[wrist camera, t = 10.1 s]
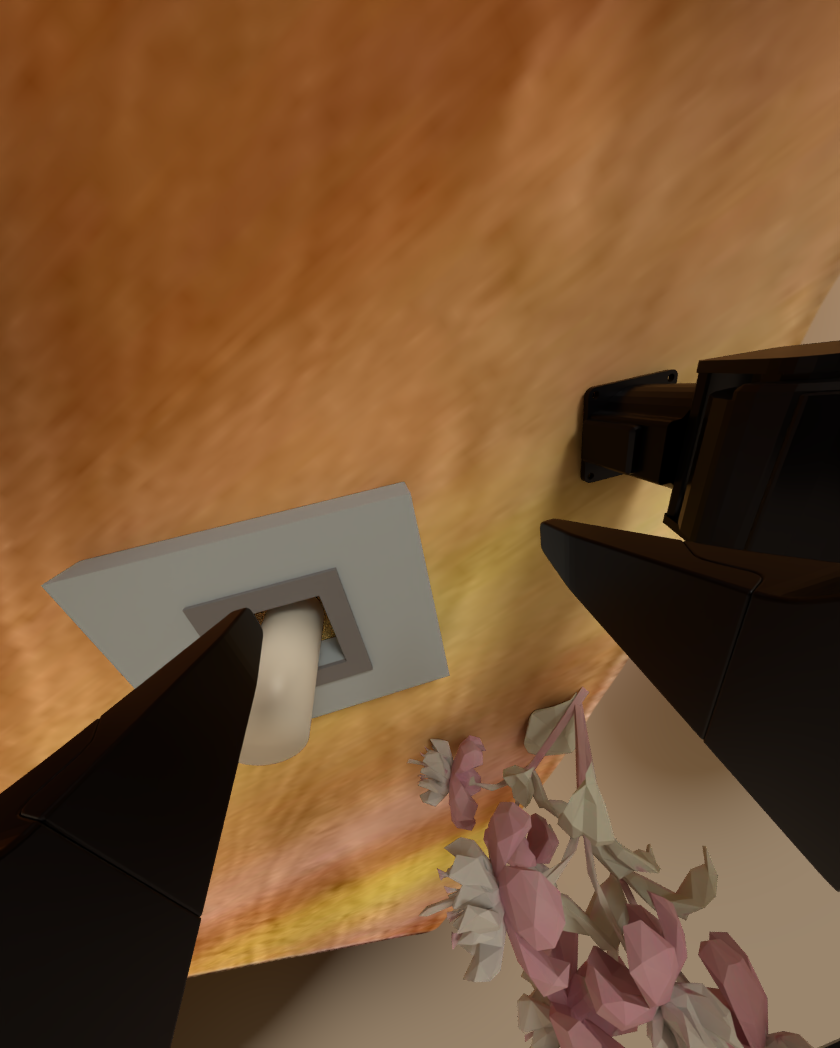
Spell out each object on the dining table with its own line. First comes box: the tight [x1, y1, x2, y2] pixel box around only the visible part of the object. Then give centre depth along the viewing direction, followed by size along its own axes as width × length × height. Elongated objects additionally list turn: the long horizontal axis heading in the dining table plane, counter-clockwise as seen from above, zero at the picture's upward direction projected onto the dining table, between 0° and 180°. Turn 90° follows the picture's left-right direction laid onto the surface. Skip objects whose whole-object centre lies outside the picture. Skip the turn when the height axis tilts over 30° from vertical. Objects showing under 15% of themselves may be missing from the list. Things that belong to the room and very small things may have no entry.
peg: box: [238, 597, 324, 765], centre depth 19 cm, size 4×4×9 cm
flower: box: [407, 687, 813, 1048], centre depth 25 cm, size 20×22×25 cm
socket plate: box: [41, 482, 450, 719], centre depth 21 cm, size 20×16×3 cm
